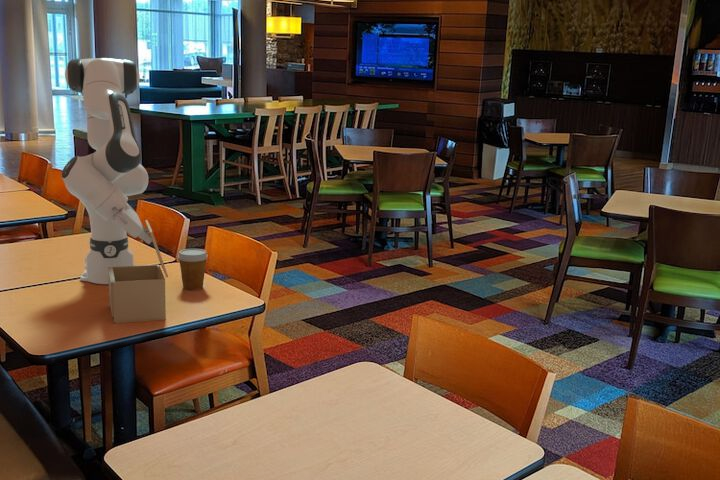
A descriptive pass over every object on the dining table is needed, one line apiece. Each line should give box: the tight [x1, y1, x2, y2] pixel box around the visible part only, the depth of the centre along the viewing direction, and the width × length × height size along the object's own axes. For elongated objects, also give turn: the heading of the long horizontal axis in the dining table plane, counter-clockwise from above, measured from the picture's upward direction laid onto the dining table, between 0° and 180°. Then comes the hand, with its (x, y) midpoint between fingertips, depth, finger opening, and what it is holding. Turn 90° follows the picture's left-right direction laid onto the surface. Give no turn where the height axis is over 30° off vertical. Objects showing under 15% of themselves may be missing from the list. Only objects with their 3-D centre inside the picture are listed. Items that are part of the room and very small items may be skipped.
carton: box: [108, 264, 167, 324], centre depth 219 cm, size 16×15×12 cm
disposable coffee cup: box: [177, 248, 209, 291], centre depth 244 cm, size 10×10×12 cm
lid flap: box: [145, 219, 169, 279], centre depth 218 cm, size 16×14×1 cm
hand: (149, 237), depth 216 cm, fingers open, 8 cm apart
